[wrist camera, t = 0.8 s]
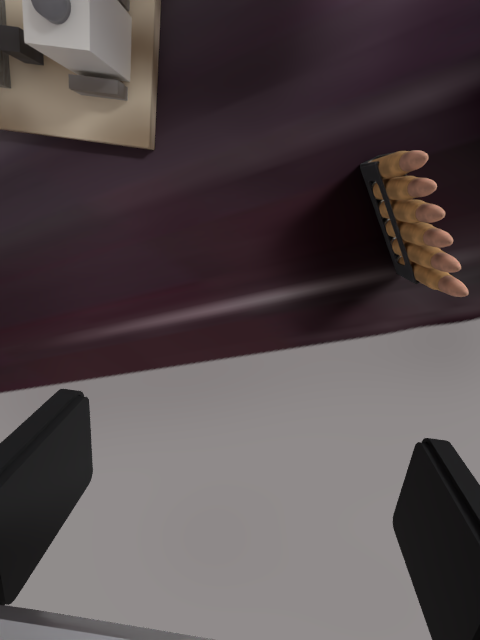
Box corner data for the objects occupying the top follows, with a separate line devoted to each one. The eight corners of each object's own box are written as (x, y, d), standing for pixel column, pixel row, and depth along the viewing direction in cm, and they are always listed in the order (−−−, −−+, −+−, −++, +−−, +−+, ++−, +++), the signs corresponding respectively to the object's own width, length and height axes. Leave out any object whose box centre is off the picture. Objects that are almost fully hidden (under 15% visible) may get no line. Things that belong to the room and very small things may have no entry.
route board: (-81, -73, 29) (-141, -118, 25) (163, -46, 28) (143, -88, 24) (-56, 122, 34) (-103, 111, 30) (154, 150, 33) (136, 143, 29)
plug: (77, 11, 29) (8, -54, 21) (131, 17, 29) (80, -46, 21) (78, 75, 30) (14, 36, 23) (130, 82, 30) (81, 44, 23)
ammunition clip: (359, 164, 32) (404, 148, 21) (379, 155, 32) (437, 132, 20) (397, 274, 35) (455, 312, 24) (416, 266, 34) (486, 301, 23)
